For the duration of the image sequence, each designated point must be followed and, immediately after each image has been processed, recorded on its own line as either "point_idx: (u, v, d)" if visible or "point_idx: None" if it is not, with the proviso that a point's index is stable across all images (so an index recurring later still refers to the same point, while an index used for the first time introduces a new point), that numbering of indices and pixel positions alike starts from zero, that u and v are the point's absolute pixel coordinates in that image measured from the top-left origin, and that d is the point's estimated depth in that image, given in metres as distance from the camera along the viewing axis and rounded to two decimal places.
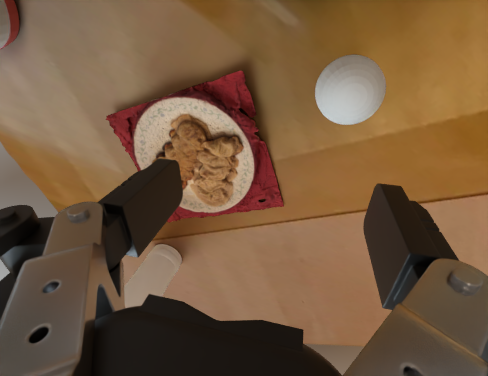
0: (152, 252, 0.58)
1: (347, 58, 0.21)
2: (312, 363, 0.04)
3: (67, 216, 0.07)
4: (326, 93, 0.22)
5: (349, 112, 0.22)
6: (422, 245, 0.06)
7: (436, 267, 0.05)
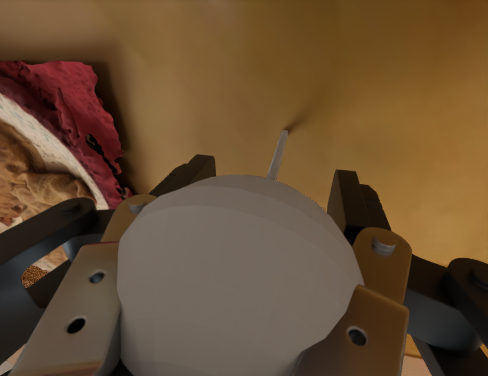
0: None
1: (228, 222, 0.04)
2: None
3: (128, 206, 0.07)
4: None
5: None
6: (359, 218, 0.07)
7: (363, 233, 0.06)
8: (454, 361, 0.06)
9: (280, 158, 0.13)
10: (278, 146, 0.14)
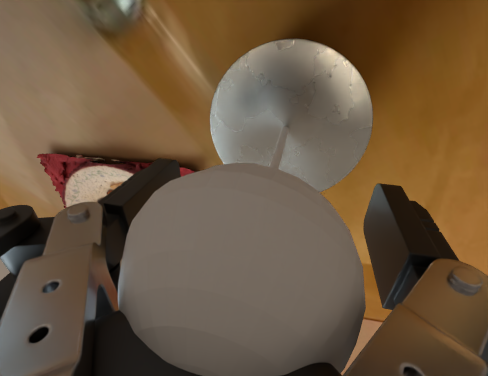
0: None
1: (234, 202, 0.04)
2: None
3: (67, 216, 0.07)
4: None
5: None
6: (422, 245, 0.06)
7: (436, 267, 0.05)
8: None
9: (281, 153, 0.13)
10: (279, 142, 0.14)
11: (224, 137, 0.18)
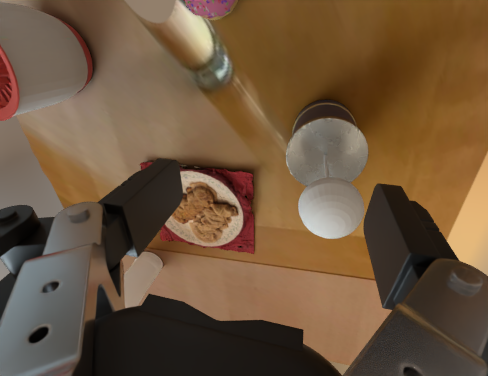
0: (141, 258, 0.71)
1: (337, 186, 0.22)
2: (312, 363, 0.04)
3: (67, 216, 0.07)
4: (309, 211, 0.22)
5: (325, 234, 0.22)
6: (422, 245, 0.06)
7: (436, 267, 0.05)
8: None
9: (328, 169, 0.30)
10: (325, 163, 0.32)
11: (293, 159, 0.35)
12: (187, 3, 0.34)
